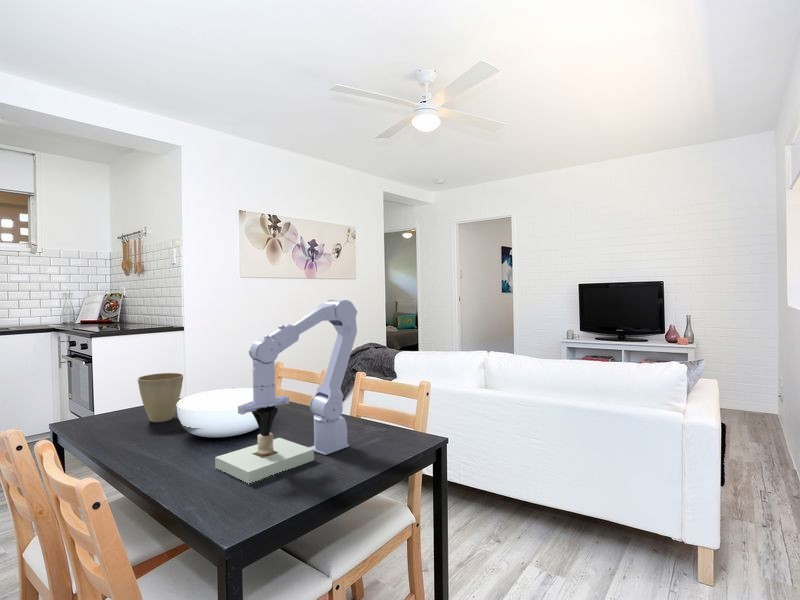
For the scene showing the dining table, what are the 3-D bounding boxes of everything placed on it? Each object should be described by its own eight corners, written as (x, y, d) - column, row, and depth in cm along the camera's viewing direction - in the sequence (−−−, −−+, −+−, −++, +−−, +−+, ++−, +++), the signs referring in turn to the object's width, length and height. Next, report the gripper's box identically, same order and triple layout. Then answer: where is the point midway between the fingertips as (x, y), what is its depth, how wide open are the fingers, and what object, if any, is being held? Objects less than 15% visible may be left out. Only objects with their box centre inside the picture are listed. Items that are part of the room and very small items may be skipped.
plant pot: (144, 428, 156) (143, 382, 156) (134, 419, 167) (133, 376, 167) (190, 419, 166) (189, 376, 166) (177, 411, 177) (176, 371, 177)
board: (279, 447, 135) (279, 437, 135) (314, 460, 125) (313, 449, 125) (215, 468, 120) (215, 457, 120) (248, 484, 110) (248, 472, 109)
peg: (267, 460, 125) (267, 431, 125) (276, 463, 123) (276, 434, 122) (254, 464, 122) (254, 435, 122) (263, 468, 119) (263, 438, 119)
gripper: (248, 391, 114) (249, 445, 114) (295, 382, 125) (296, 431, 125) (233, 388, 118) (234, 439, 119) (280, 379, 129) (281, 426, 130)
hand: (265, 435), depth 122 cm, fingers closed, pressing on peg
